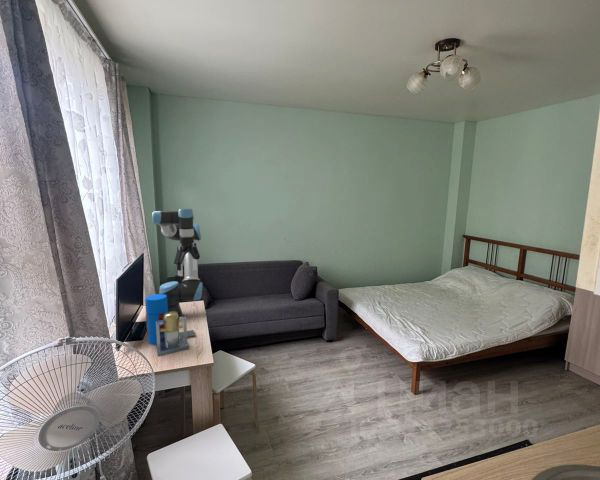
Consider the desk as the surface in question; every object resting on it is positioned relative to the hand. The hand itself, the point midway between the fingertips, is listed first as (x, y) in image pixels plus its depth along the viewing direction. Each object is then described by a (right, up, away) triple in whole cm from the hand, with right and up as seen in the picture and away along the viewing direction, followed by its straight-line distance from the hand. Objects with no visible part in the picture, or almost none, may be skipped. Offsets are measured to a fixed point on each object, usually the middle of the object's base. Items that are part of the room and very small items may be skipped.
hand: (188, 272), depth 175 cm
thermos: (-15, -37, -4) cm, 40 cm away
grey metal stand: (-3, -38, -13) cm, 41 cm away
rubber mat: (-1, -36, +2) cm, 37 cm away
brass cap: (-3, -29, -14) cm, 32 cm away
